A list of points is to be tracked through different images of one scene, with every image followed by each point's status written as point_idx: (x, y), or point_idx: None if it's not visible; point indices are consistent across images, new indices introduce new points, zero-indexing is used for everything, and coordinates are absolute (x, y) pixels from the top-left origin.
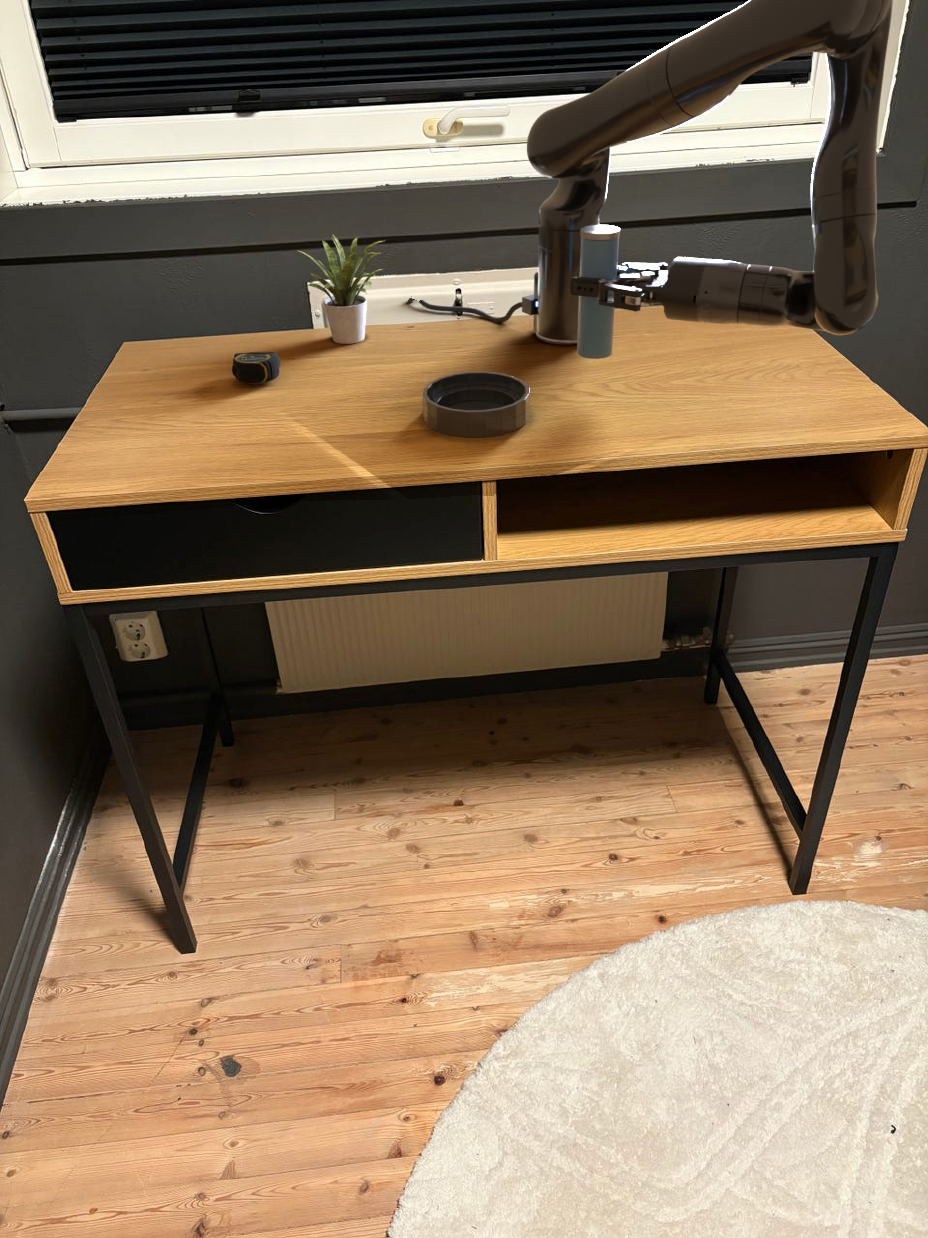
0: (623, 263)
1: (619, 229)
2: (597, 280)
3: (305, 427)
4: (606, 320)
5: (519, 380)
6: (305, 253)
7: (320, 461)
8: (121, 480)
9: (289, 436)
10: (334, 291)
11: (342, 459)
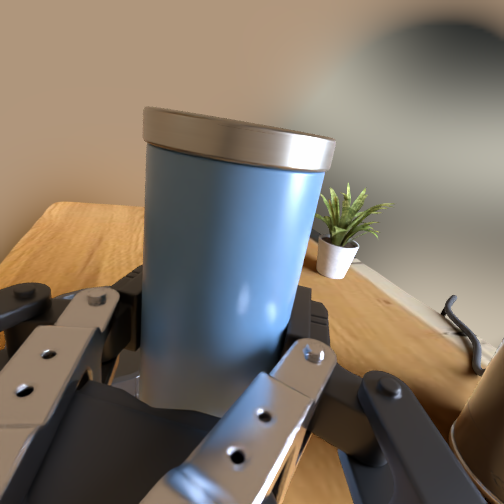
0: (392, 377)
1: (239, 121)
2: (119, 291)
3: (125, 258)
4: None
5: (137, 372)
6: (334, 192)
7: (41, 264)
8: (63, 213)
9: (108, 253)
10: (332, 228)
11: (37, 273)
